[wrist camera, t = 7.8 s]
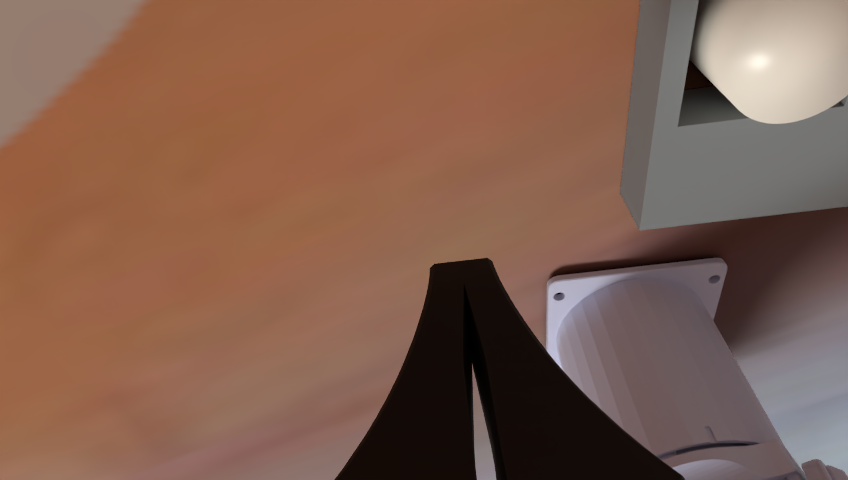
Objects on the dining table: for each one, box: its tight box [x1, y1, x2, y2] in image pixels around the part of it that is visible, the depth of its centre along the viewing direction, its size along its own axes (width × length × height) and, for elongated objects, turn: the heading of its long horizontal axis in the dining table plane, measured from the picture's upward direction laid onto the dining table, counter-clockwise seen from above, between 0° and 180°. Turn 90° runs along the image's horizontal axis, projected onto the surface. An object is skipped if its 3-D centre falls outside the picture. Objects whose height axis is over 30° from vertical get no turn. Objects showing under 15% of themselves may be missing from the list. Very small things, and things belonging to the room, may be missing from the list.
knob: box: [689, 0, 848, 124], centre depth 18 cm, size 4×4×4 cm
